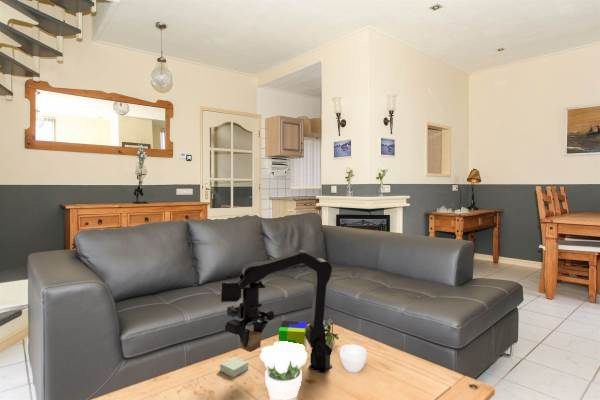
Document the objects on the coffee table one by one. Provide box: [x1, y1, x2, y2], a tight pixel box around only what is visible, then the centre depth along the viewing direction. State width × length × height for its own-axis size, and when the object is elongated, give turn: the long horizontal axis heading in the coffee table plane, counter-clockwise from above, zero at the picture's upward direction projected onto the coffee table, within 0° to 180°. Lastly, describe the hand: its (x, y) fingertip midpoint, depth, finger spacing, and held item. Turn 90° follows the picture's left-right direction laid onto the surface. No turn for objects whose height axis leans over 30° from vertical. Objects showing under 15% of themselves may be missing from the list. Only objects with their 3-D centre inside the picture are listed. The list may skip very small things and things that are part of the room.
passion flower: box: [323, 318, 340, 345], centre depth 155 cm, size 11×11×12 cm
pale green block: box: [219, 356, 249, 378], centre depth 131 cm, size 7×7×2 cm
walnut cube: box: [239, 329, 262, 353], centre depth 127 cm, size 5×5×5 cm
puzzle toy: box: [278, 320, 308, 348], centre depth 146 cm, size 10×10×10 cm
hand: (250, 344), depth 127 cm, fingers closed on walnut cube, 5 cm apart
